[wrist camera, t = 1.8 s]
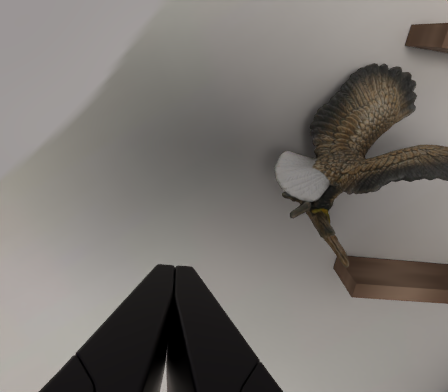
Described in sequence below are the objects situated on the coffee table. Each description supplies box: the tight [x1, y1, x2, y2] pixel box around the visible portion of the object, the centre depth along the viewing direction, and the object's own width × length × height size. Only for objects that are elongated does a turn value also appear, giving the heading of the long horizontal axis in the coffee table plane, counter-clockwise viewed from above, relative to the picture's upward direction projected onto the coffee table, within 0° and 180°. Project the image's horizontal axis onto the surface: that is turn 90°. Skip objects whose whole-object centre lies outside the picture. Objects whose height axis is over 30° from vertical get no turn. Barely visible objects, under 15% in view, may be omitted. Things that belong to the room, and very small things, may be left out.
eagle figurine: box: [274, 64, 448, 268], centre depth 18 cm, size 8×7×9 cm
